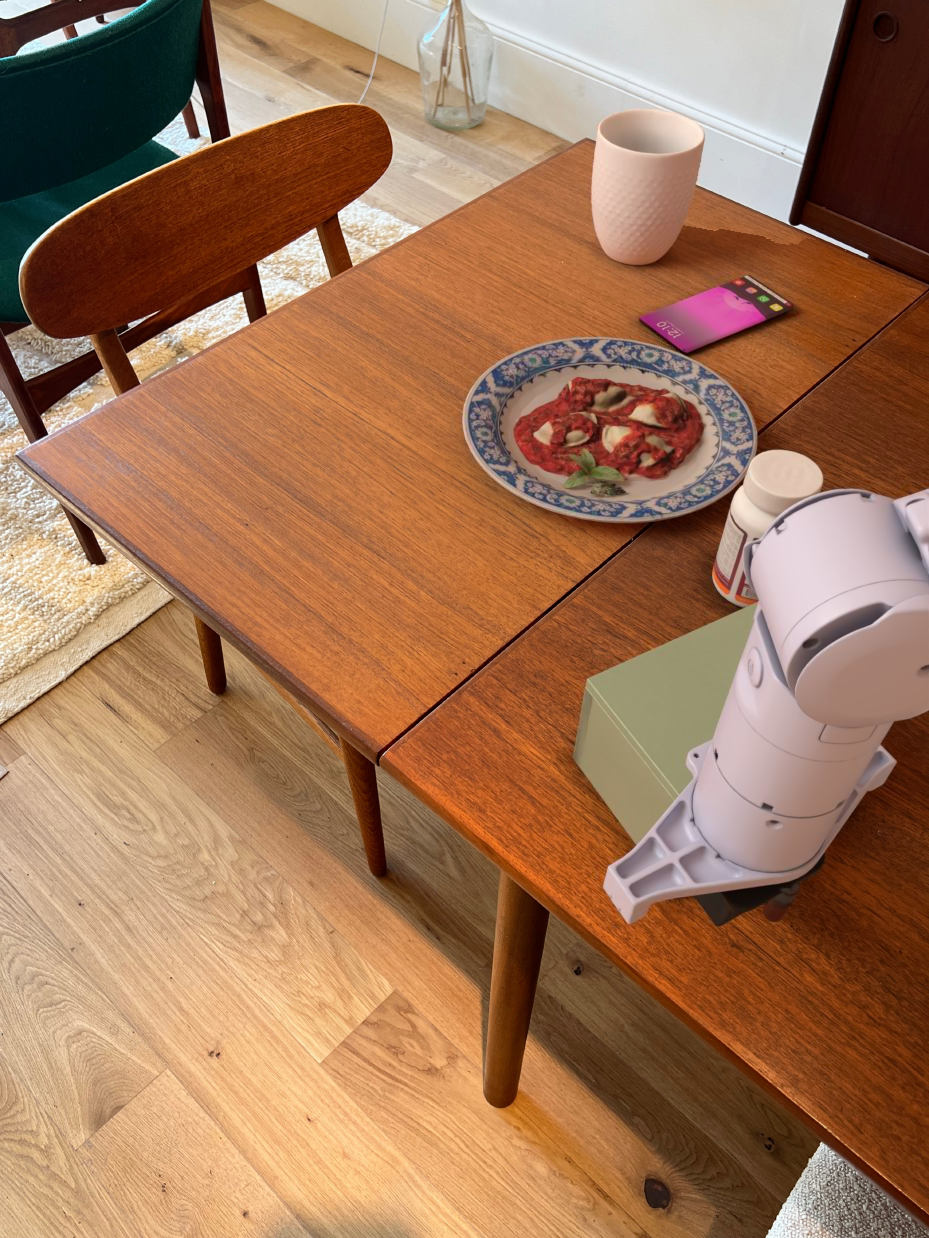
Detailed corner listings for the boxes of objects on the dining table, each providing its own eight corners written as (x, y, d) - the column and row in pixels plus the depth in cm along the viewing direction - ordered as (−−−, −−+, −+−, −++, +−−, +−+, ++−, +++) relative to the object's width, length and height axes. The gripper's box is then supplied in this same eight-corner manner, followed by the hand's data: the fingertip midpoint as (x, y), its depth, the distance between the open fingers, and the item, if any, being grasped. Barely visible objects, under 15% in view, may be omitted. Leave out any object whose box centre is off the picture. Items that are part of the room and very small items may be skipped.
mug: (585, 207, 117) (597, 90, 108) (679, 213, 117) (700, 96, 107) (583, 273, 108) (596, 151, 98) (685, 280, 107) (709, 157, 97)
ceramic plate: (545, 327, 101) (548, 301, 98) (791, 410, 92) (800, 383, 90) (406, 470, 86) (405, 442, 84) (683, 584, 78) (690, 557, 75)
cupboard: (847, 802, 65) (893, 724, 58) (674, 898, 60) (702, 825, 54) (736, 679, 71) (766, 597, 65) (572, 758, 67) (586, 678, 60)
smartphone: (793, 313, 103) (796, 305, 102) (682, 356, 97) (684, 349, 97) (745, 281, 107) (747, 273, 106) (636, 321, 101) (637, 313, 101)
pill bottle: (805, 584, 78) (850, 474, 69) (759, 625, 75) (799, 515, 66) (740, 544, 81) (775, 432, 72) (694, 582, 78) (724, 470, 69)
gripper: (850, 624, 44) (774, 785, 55) (578, 753, 40) (551, 903, 50) (972, 739, 40) (866, 890, 51) (685, 899, 36) (632, 1029, 46)
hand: (715, 904), depth 50 cm, fingers closed
